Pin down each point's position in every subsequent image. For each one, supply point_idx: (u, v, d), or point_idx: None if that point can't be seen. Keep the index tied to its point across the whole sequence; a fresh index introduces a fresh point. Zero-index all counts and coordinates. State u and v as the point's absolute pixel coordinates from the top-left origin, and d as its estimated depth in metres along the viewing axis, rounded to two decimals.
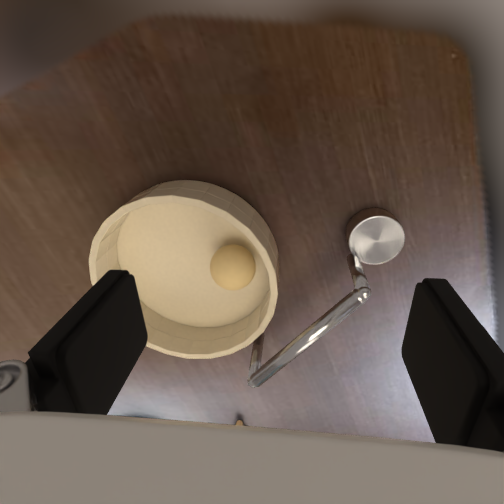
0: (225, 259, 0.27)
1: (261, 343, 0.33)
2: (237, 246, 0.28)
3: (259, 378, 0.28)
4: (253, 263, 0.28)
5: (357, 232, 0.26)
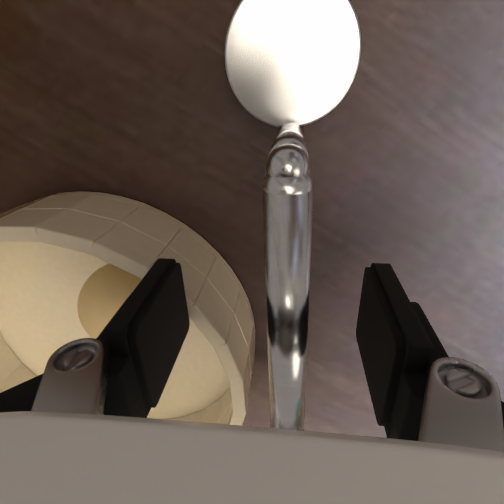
0: (80, 302, 0.14)
1: None
2: (101, 267, 0.15)
3: None
4: (136, 276, 0.14)
5: (239, 74, 0.11)
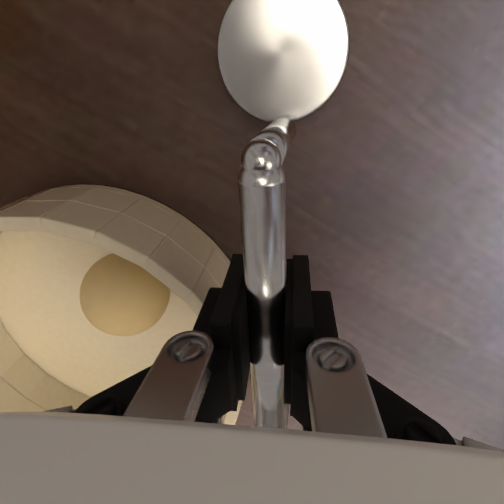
0: (82, 291, 0.14)
1: None
2: None
3: None
4: (136, 266, 0.14)
5: (232, 70, 0.11)
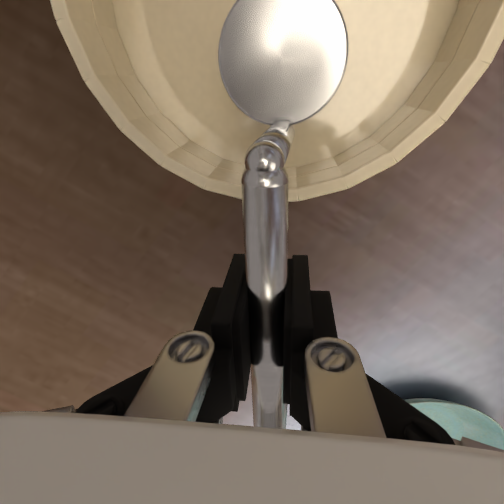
0: None
1: None
2: None
3: None
4: None
5: (232, 74, 0.12)
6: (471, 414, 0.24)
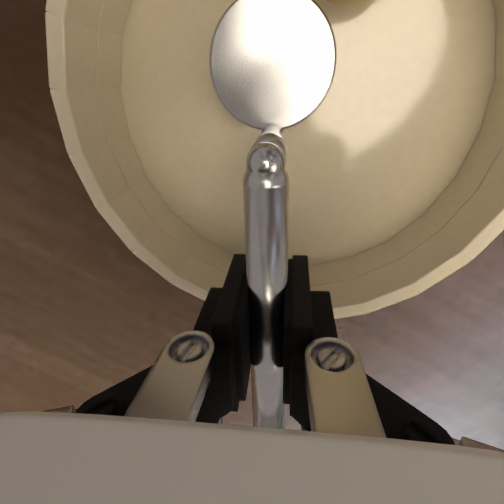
0: None
1: None
2: None
3: None
4: None
5: (223, 79, 0.12)
6: None
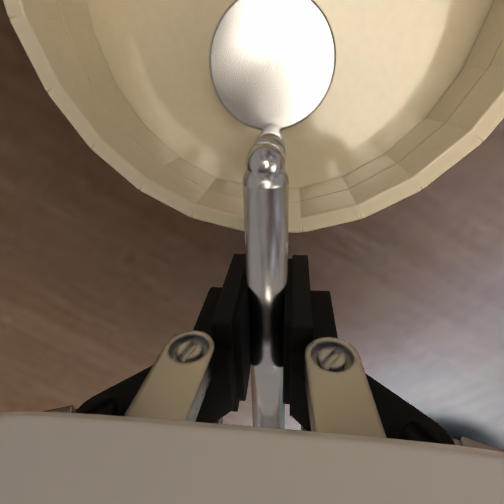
0: None
1: None
2: None
3: None
4: None
5: (223, 80, 0.12)
6: None
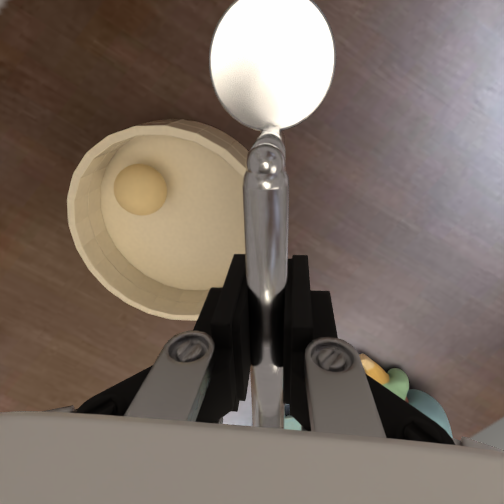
0: None
1: None
2: (123, 175, 0.24)
3: None
4: (124, 201, 0.24)
5: (223, 80, 0.12)
6: None
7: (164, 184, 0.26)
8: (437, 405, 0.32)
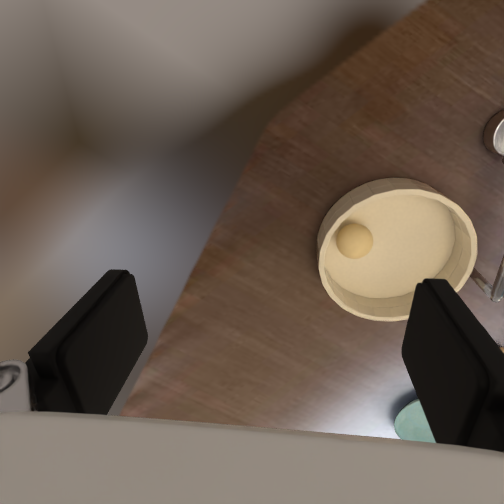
0: (344, 227, 0.37)
1: (476, 271, 0.38)
2: (343, 239, 0.36)
3: (500, 290, 0.33)
4: None
5: (498, 139, 0.31)
6: None
7: (367, 251, 0.36)
8: None
